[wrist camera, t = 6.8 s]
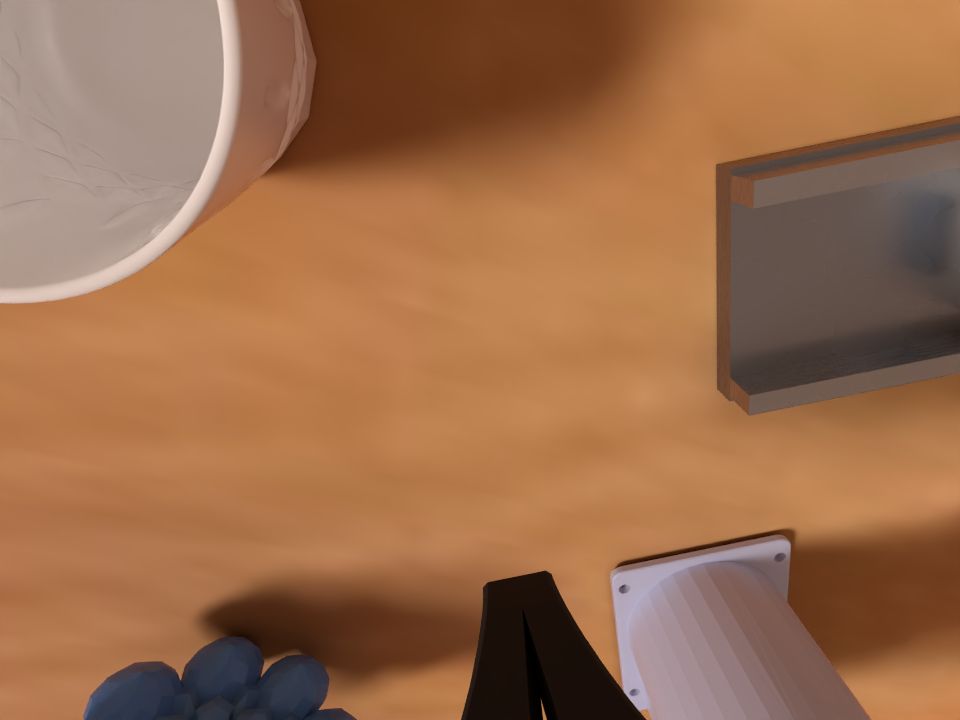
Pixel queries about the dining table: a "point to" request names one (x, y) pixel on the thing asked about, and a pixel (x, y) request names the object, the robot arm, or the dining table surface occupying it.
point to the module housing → (839, 267)
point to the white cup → (135, 128)
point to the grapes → (217, 688)
